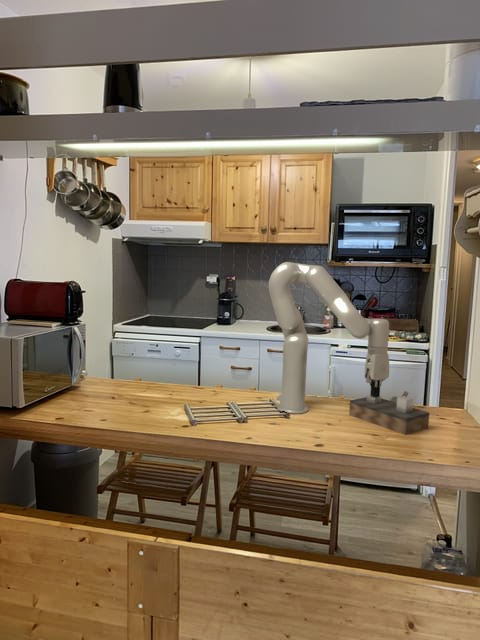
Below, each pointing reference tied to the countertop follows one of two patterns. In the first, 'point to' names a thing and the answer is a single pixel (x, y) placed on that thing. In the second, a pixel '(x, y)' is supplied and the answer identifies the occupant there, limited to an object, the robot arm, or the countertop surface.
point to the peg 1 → (373, 399)
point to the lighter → (394, 399)
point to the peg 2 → (404, 404)
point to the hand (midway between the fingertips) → (374, 396)
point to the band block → (389, 416)
